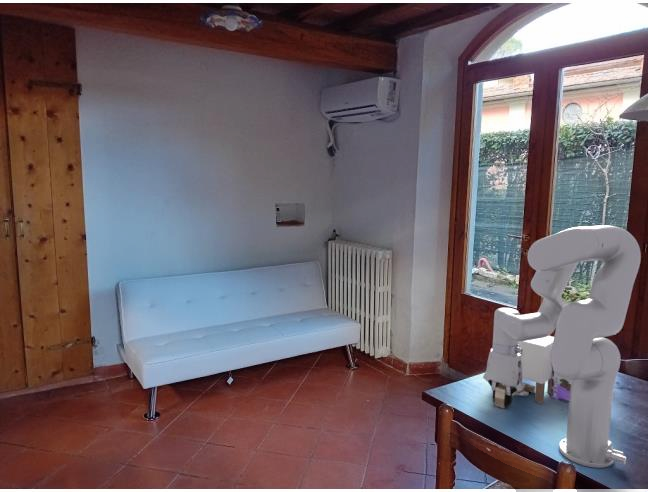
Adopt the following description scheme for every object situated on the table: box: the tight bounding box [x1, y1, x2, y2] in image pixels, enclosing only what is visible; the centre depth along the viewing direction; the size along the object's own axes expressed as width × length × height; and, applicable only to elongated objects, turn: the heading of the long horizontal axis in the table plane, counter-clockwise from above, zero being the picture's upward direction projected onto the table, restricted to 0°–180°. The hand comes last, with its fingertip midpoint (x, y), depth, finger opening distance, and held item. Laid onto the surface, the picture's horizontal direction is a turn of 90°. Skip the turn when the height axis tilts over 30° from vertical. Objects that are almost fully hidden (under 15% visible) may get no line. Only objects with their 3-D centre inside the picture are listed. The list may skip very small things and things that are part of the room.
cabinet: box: [499, 335, 554, 404], centre depth 163 cm, size 16×13×19 cm
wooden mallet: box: [494, 381, 536, 409], centre depth 158 cm, size 20×6×6 cm, turn 134°
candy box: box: [550, 369, 572, 403], centre depth 156 cm, size 14×6×16 cm, turn 47°
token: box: [515, 388, 530, 397], centre depth 163 cm, size 5×5×1 cm
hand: (501, 402), depth 153 cm, fingers closed on wooden mallet, 3 cm apart
